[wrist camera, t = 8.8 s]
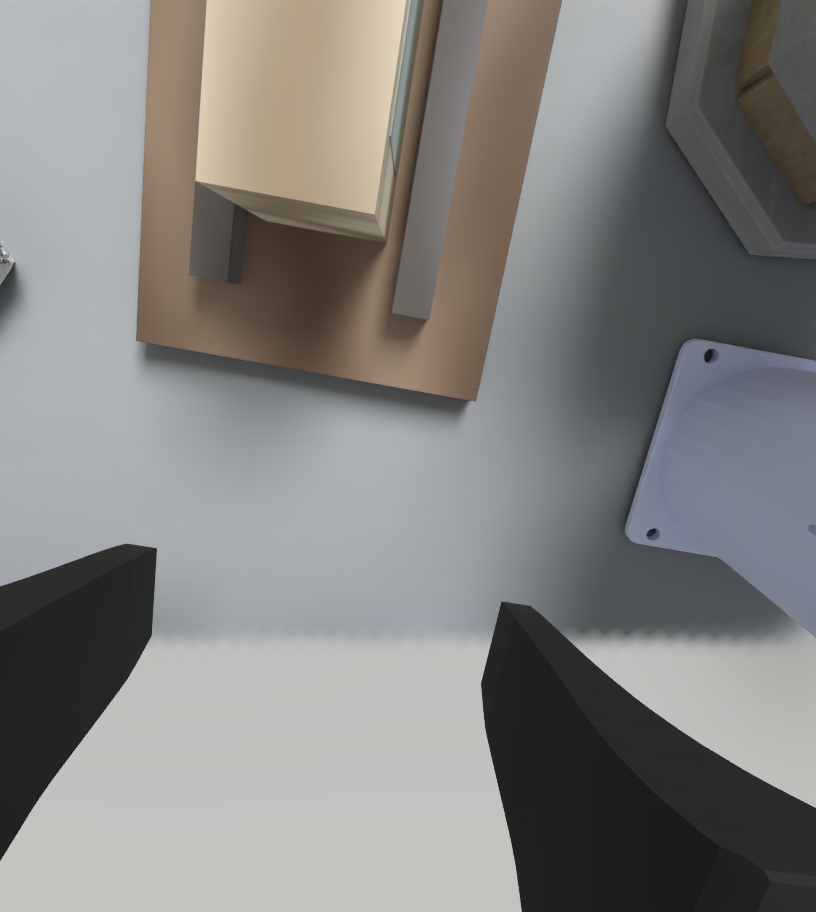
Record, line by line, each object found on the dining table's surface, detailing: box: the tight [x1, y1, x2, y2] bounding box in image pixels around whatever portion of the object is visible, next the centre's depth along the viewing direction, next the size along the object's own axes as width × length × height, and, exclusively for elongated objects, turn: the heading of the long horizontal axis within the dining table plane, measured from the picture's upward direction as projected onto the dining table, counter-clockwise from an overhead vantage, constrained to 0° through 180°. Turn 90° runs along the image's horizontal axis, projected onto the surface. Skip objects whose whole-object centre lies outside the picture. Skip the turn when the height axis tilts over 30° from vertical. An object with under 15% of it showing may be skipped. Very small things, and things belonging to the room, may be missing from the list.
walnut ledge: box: [136, 0, 562, 402], centre depth 16 cm, size 12×21×3 cm, turn 170°
